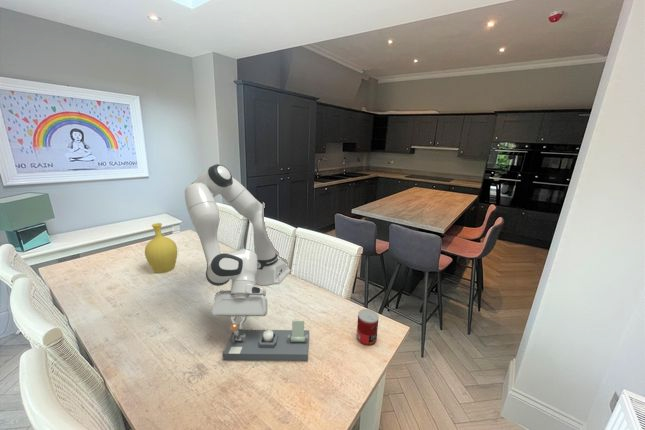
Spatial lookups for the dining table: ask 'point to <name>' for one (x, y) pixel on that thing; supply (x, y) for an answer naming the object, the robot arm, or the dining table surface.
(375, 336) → the canned food
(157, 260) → the vase
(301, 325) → the green paddle
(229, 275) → the robot arm
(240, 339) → the steel toggle
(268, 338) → the push button
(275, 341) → the switch panel
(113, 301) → the dining table surface
